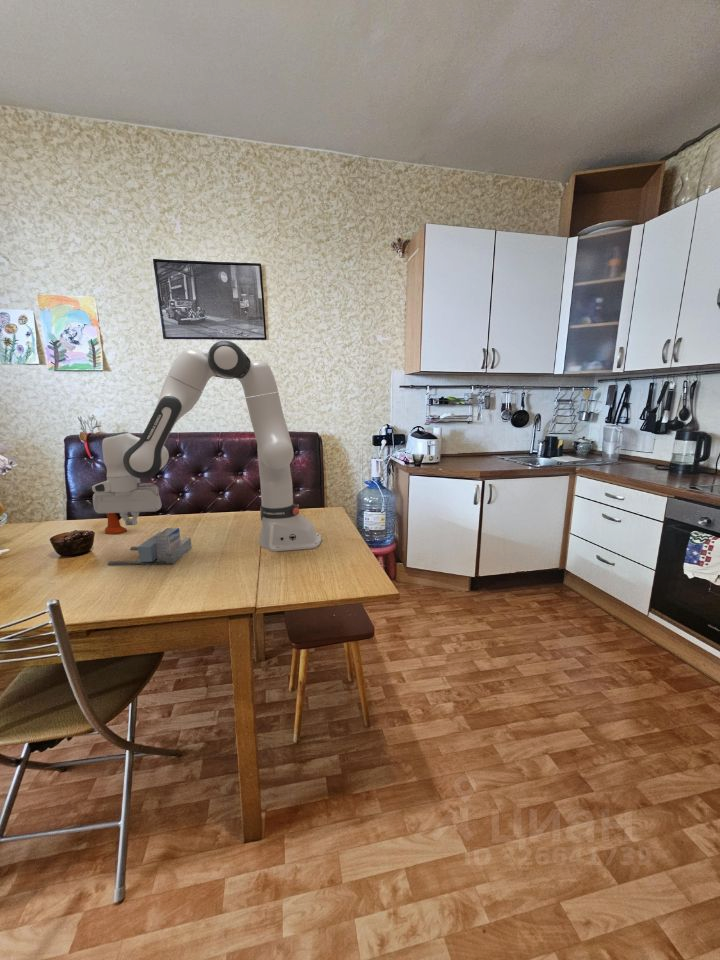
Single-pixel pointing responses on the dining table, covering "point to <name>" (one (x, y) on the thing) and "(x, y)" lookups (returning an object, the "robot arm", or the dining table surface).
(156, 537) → the medicine box
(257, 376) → the robot arm
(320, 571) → the dining table surface
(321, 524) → the dining table surface
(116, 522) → the toy drill
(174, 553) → the vise
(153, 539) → the vise jaw
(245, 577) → the dining table surface
